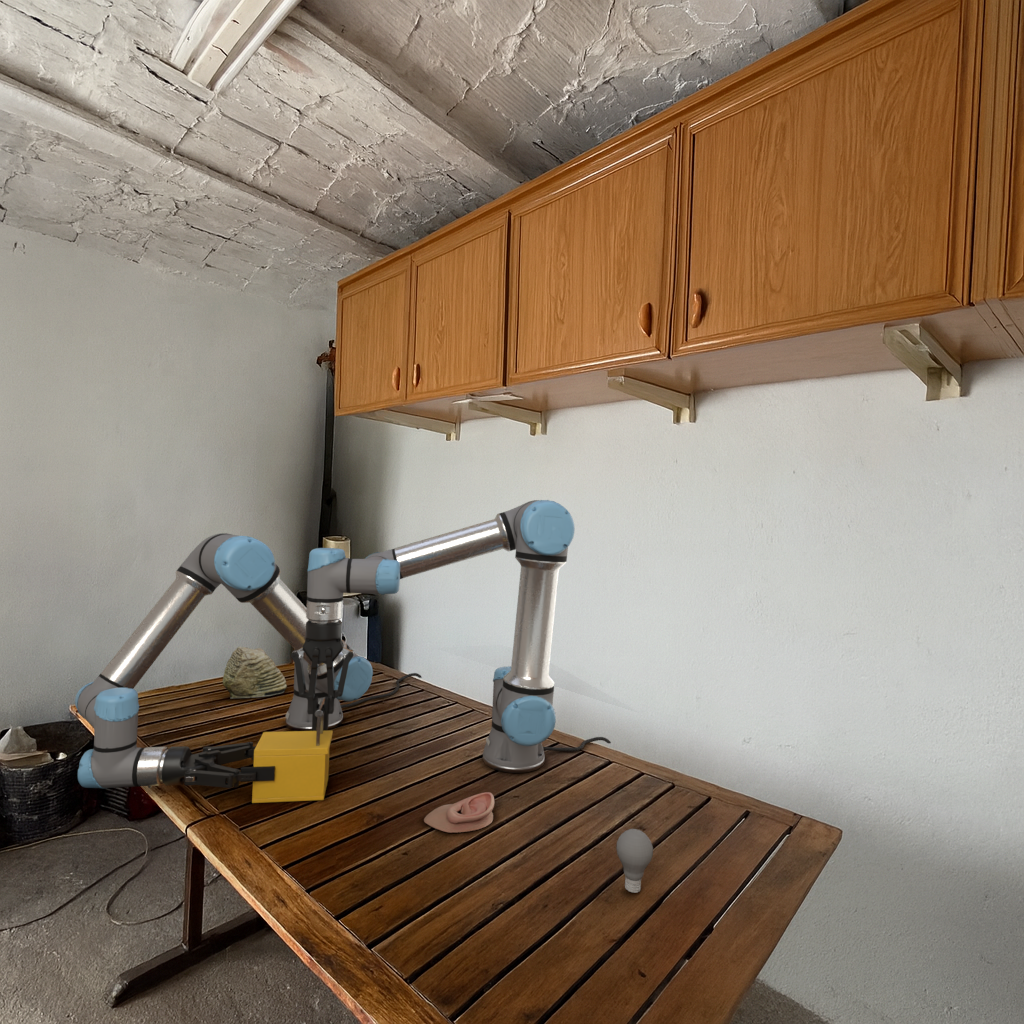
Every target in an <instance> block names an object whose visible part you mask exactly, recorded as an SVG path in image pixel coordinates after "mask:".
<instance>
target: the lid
mask: <svg viewBox="0 0 1024 1024" xmlns="http://www.w3.org/2000/svg"><path fill="white" fill-rule="evenodd" d="M324 701H325V699H324V698H322V699H320V700H319V703H318V706H317V709H316V712H315V716H316V717H317V731H295V730H290V731H263V732H262V735H261V736H260V739H258V742H257V744H256V748H255V750H254V756H281V755H315V754H328V752H329V753H330V747H331V743H332V740H333V734H334V733H333V732H334V731H333V730H327V731H323V723H324Z"/></svg>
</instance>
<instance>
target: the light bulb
mask: <svg viewBox="0 0 1024 1024" xmlns="http://www.w3.org/2000/svg"><path fill="white" fill-rule="evenodd" d="M615 849H616V854H617V857H618V859H619V861H620V863H621V865H622V867H623V873H624V874H623V875H624V876H625V878H624V888H625V890H627V891H628V892H630V893H634V894H635V893H639V892H640V891H641V889H642V887H641V886H642V879H643V877H644V875H645V871H646V868H647V867H648V866H649V864H650V863H651V861H652V859H653V855H654V847H653V843H652V841H651V838H649V836H648V835H647V834H646V833H645V832H643V831H642V830H641V829H636V828H629V829H627V830H625V831H623V832H622V833H621V834H620V835H619V837H618V839H617V841H616V847H615Z"/></svg>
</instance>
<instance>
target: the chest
mask: <svg viewBox="0 0 1024 1024" xmlns="http://www.w3.org/2000/svg"><path fill="white" fill-rule="evenodd" d="M263 766H275V778H274V781H252V791H251V793H252V794H251V795H252V796H251V803H252V804H259V803H260V804H261V803H284V802H285V803H286V802H308V801H324V800H325V795H326V792H327V791H326V790H327V786H328V782H329V774H330V773H329V769H330V751H329V752H328V754H315V755H281V756H254V760H253V766H252V767H263Z"/></svg>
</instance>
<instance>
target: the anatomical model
mask: <svg viewBox="0 0 1024 1024" xmlns="http://www.w3.org/2000/svg"><path fill="white" fill-rule="evenodd" d="M494 808H495V797H494V794H493V793H492V792H490V791H486V792H481V793H477V794H474V795H471V796H468V797H466V798H463V799H462V800H459V801H456V802H455V803H449V804H448V803H447V804H444V805H441V806H439V807H436V808H435V809H433V810H432V811H430V812H429V813H428V814H426V815H425V817H424V818H423V822H424V823H425V824H426V825H428V826H429V827H431V828H433V829H435V830H438V831H441V832H444V833H450V834H453V833H454V834H455V833H464V832H472V831H477V830H480V829H483V828H485V827H487V826H489V825H491V824H492V822H493V820H494V813H493V810H494Z"/></svg>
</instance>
